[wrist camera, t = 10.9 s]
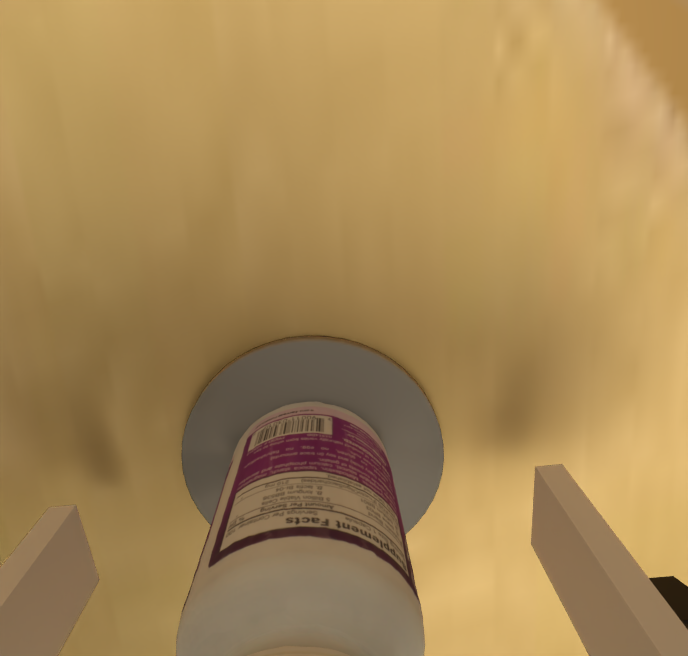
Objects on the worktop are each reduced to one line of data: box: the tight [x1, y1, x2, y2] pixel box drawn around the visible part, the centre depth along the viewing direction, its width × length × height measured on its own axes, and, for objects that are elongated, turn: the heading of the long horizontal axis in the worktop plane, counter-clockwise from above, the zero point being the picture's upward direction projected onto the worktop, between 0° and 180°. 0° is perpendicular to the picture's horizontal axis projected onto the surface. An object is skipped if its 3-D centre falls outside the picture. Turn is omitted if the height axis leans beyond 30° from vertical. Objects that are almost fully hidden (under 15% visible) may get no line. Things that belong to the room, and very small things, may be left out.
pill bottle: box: [176, 401, 425, 656], centre depth 12 cm, size 5×5×10 cm
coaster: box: [182, 336, 444, 534], centre depth 17 cm, size 9×9×1 cm
